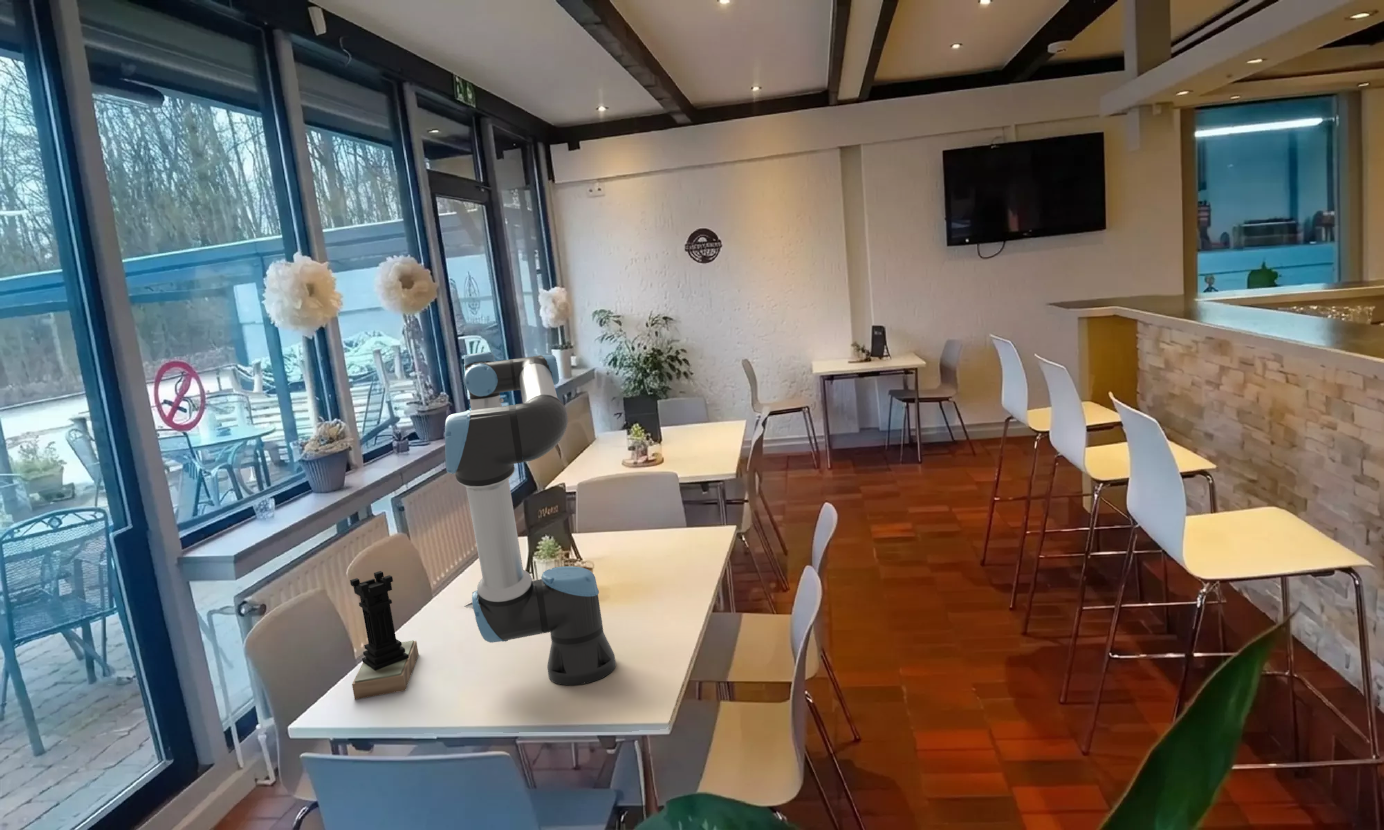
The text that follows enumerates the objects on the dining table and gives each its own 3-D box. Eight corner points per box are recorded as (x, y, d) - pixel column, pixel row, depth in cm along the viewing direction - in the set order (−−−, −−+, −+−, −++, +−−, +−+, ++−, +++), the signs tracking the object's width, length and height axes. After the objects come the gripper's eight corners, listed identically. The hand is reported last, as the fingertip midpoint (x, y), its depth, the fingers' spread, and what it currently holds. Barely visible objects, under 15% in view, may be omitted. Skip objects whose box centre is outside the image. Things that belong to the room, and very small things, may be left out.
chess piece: (362, 661, 202) (347, 580, 199) (395, 649, 207) (381, 570, 204) (375, 670, 195) (359, 587, 192) (408, 657, 201) (394, 576, 198)
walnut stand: (405, 690, 193) (402, 673, 192) (354, 699, 191) (351, 682, 190) (418, 654, 212) (416, 639, 212) (372, 662, 211) (369, 646, 210)
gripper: (500, 418, 205) (513, 504, 208) (505, 405, 229) (516, 482, 232) (468, 422, 203) (481, 509, 207) (476, 409, 228) (488, 487, 231)
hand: (500, 495), depth 219 cm, fingers open, 13 cm apart
